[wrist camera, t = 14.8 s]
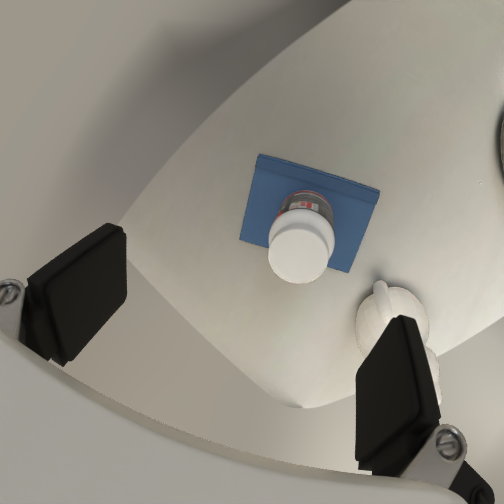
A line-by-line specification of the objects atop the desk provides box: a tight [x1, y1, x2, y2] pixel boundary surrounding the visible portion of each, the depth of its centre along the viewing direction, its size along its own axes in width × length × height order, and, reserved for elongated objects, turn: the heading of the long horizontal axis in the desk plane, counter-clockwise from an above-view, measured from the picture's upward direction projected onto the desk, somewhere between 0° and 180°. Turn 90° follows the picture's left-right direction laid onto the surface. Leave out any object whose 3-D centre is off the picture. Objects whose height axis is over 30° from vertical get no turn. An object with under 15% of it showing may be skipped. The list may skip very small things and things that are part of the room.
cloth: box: [240, 154, 380, 273], centre depth 31 cm, size 13×10×1 cm
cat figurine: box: [355, 280, 442, 405], centre depth 28 cm, size 9×12×15 cm
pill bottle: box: [268, 190, 335, 284], centre depth 27 cm, size 6×6×10 cm
